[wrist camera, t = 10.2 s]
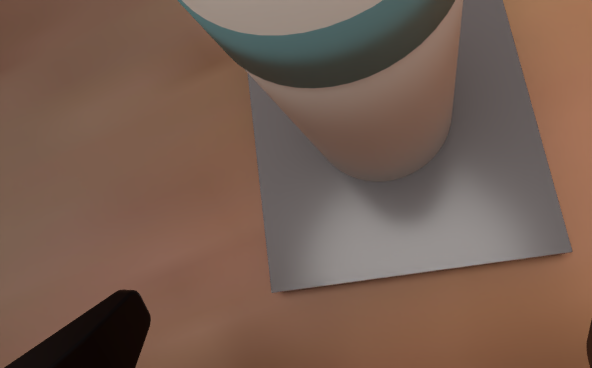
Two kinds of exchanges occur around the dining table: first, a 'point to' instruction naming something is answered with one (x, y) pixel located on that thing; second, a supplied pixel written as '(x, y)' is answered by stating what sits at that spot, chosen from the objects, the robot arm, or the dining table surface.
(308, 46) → the banded post
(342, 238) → the slate tile
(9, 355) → the dining table surface
